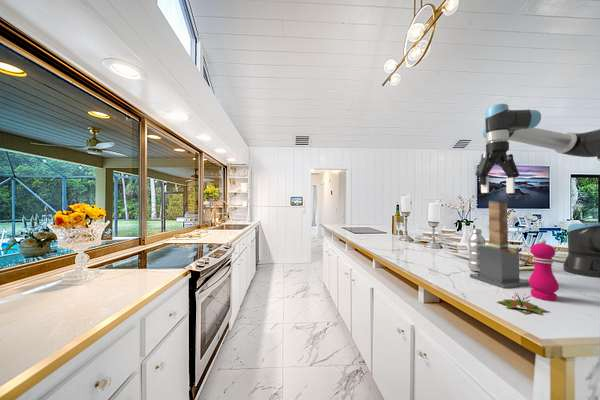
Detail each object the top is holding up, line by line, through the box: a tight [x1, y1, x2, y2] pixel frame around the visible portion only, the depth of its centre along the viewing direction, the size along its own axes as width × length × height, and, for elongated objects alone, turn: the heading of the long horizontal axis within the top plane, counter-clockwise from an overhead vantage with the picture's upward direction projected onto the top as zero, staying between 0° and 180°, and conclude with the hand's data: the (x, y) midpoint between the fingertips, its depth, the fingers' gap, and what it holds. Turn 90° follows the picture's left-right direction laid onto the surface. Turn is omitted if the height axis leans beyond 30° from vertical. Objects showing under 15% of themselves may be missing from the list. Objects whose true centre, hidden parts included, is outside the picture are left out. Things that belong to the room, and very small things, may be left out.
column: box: [488, 200, 509, 249], centre depth 99 cm, size 4×4×25 cm
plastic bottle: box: [467, 228, 486, 273], centre depth 114 cm, size 6×7×20 cm
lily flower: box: [498, 292, 550, 316], centre depth 74 cm, size 12×12×5 cm
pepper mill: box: [528, 238, 560, 302], centre depth 82 cm, size 7×7×20 cm
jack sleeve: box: [469, 245, 531, 289], centre depth 99 cm, size 14×14×14 cm
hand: (497, 193), depth 100 cm, fingers open, 13 cm apart
